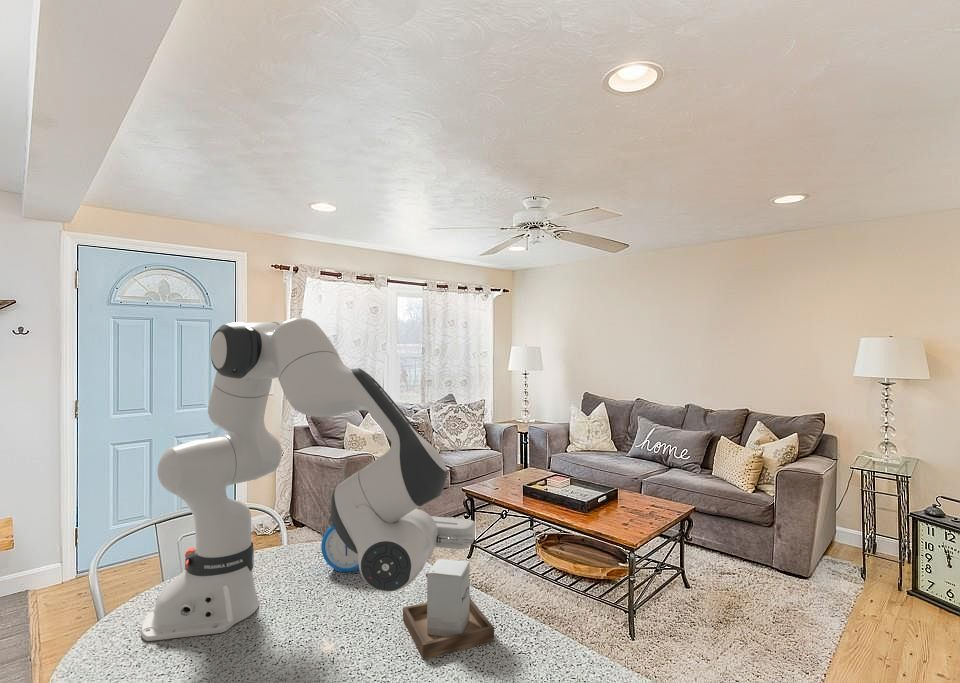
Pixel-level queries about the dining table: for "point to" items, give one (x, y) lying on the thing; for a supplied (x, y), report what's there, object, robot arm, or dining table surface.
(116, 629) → the dining table surface
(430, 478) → the robot arm
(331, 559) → the alarm clock
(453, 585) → the supplement box
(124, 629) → the dining table surface
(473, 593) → the dining table surface
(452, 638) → the tray
